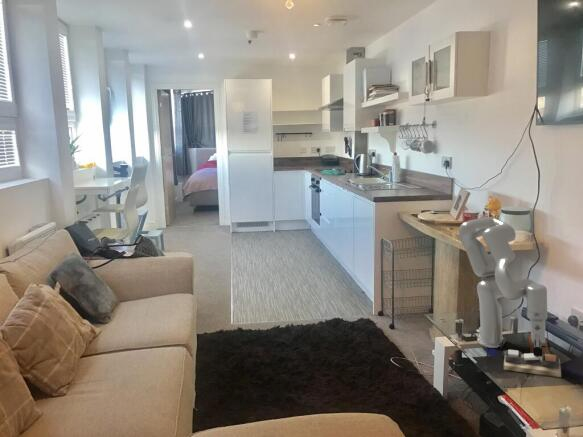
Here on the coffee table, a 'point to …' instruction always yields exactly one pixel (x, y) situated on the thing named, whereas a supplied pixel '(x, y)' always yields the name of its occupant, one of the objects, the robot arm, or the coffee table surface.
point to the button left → (513, 353)
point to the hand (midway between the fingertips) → (537, 355)
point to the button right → (550, 357)
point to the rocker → (530, 356)
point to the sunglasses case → (544, 346)
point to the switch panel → (532, 365)
